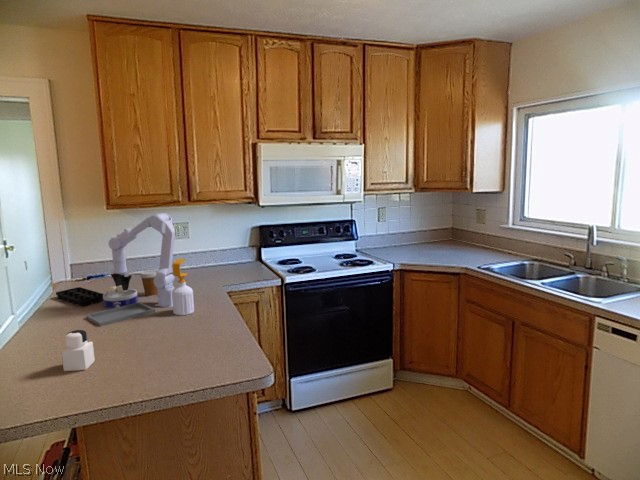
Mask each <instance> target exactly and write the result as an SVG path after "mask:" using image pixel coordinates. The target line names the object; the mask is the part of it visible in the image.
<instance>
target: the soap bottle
mask: <svg viewBox="0 0 640 480" xmlns="http://www.w3.org/2000/svg"><path fill="white" fill-rule="evenodd" d="M185 262H186V259H184V258H178V259H176V260H175V261H174V262H172V266H171V268H172V269H173V275H174V276H175V277H177V278H178V281H177V286H176V287H174V288H175V289H174V290H173V291H172V301H173V306H172V312H173V314H174V315H177V316H188V315H190V314H193V313H194V312H195V302H194V290H193V288H192V287H190V286H189V285H187V283H186V280H185V279H184V278H185V277H186V276H188V273H183V272H181V265H182V264H183V263H185Z"/></svg>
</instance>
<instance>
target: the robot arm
mask: <svg viewBox="0 0 640 480" xmlns="http://www.w3.org/2000/svg"><path fill="white" fill-rule="evenodd" d="M148 228H152V229H154V230H156V231H157V232H159V233H160V234H161V235H162V236H161V239H162V240H161V249H160V259H159V267H158V269H157V270H156V271H157V272H156V276H155V278H154V285H155V286H156V287H157V293H158V294H157V301H158V303H156V304H154V306H155V307H162V308H163V307H164V308H171V307H172V308H173V301H172V291H173V290H174V289H175V288H176V287H175V286H174V282H175V281H176V280H175V279H176V276H174V275H173V267H172V265H173V256H174V255H173V254H174V249H175V247H174V246H175V236H176V230H175V227H174V224H173V218H172V217H171V215H169V214H168V213H166V212H161V213H157V214H151V215H150V216H148V217H146V218H144V220H143V221H142V220H141V222H140V223H138V224H137V225H135V226H134V227H133V228H130V227H128V228H124V229H123V231H122V232H121V233H118V234H116V237H111V238H110V239H109V240H108V246H109V248H110V249H111V255H112V265H113V268H112V271H111V274H110V276H111V278H112V280H113V281H114V284H115V285H114V286H119V285H122V289H123V291H125V290H128V289H129V285H130V281H131V279H132V275H131V274H130V272H129V271H128V268H127V257H126V246H127V245H128V244H129V243H131V242H133V241H134V240H135V239H137V238H138V234H139V233H141V232H143V231H145V230H146V229H148Z"/></svg>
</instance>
